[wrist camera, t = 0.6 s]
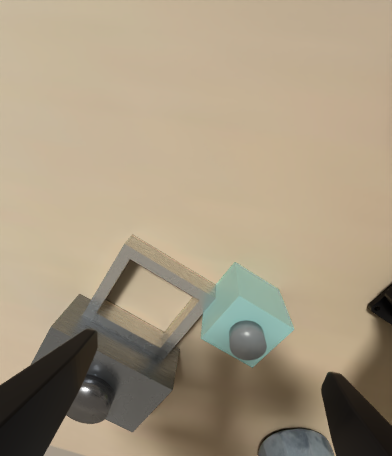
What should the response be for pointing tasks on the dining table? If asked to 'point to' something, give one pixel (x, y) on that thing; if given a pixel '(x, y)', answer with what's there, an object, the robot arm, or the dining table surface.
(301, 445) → the moka pot
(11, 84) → the dining table surface
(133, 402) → the square frame
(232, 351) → the mint block with knob
